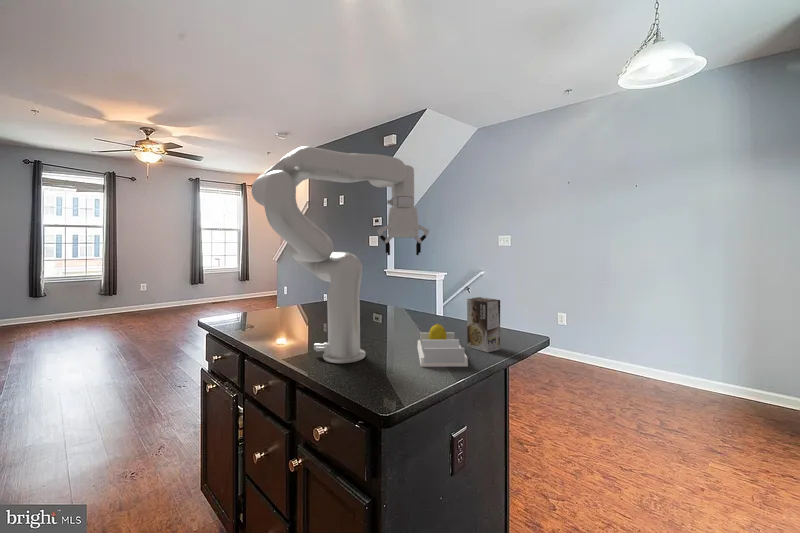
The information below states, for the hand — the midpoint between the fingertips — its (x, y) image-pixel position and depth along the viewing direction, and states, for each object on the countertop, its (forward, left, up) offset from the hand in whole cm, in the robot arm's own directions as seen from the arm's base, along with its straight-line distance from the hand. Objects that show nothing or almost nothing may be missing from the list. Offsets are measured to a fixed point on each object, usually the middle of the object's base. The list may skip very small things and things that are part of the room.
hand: (403, 255), depth 120 cm
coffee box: (+26, -5, -31) cm, 40 cm away
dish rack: (+11, -14, -30) cm, 35 cm away
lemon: (+11, -9, -30) cm, 33 cm away
